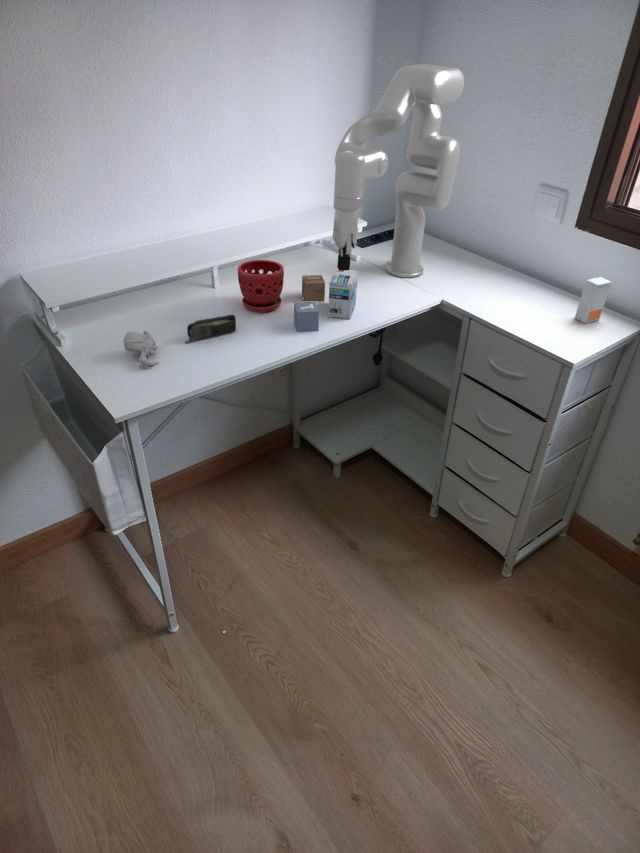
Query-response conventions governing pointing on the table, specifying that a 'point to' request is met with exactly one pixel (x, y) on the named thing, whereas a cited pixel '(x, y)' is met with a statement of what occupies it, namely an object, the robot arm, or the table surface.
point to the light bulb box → (342, 293)
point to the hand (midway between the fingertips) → (343, 269)
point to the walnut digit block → (313, 288)
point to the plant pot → (261, 284)
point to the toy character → (141, 346)
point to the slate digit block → (306, 317)
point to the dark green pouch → (211, 328)
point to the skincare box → (592, 299)
